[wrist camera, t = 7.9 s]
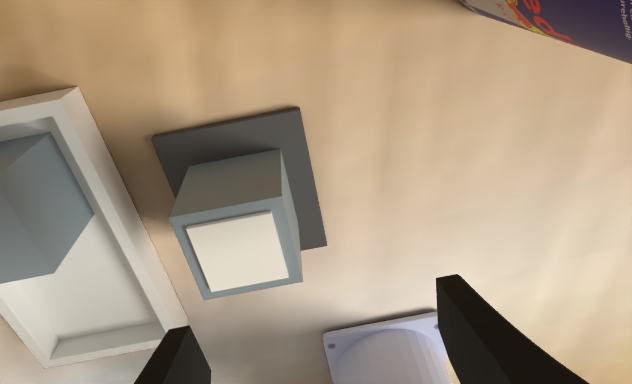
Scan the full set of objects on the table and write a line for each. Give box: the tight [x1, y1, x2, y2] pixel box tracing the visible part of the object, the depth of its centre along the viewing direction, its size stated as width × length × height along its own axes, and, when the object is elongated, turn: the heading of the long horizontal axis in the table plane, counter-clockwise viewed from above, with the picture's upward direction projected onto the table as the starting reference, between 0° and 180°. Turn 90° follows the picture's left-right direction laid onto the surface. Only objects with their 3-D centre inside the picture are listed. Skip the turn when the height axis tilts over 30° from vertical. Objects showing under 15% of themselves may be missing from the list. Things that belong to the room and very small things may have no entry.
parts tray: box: [0, 87, 188, 369], centre depth 21 cm, size 15×8×2 cm, turn 10°
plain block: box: [0, 132, 95, 284], centre depth 18 cm, size 4×4×4 cm
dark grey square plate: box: [151, 107, 327, 251], centre depth 22 cm, size 8×7×1 cm
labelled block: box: [169, 149, 303, 300], centre depth 19 cm, size 4×4×5 cm
